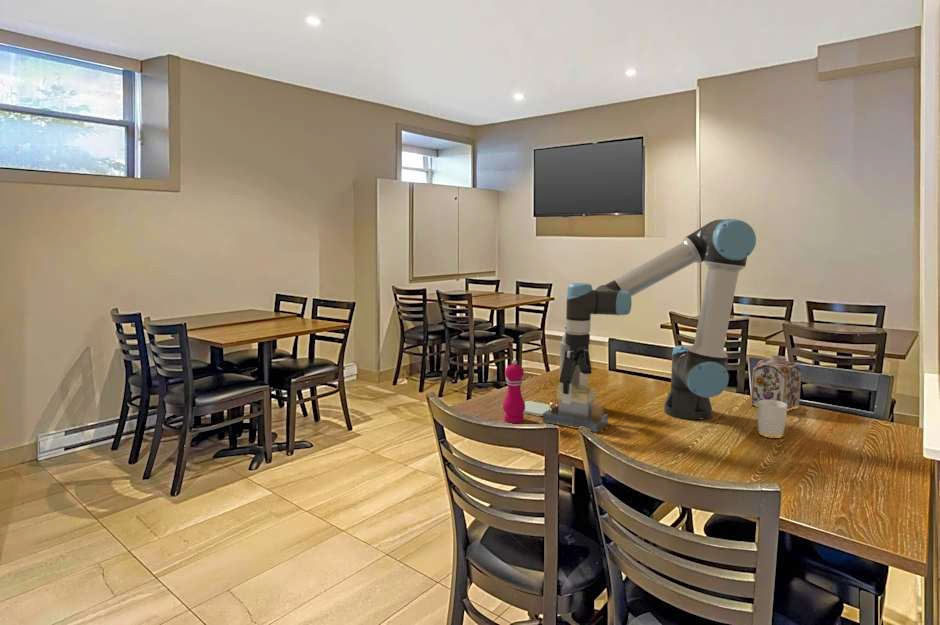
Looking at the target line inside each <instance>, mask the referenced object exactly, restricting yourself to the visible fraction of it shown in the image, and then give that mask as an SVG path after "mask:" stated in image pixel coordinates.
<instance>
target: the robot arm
mask: <svg viewBox="0 0 940 625" xmlns="http://www.w3.org/2000/svg"><path fill="white" fill-rule="evenodd" d="M756 245H757V235H756V232H755V230H754V229H753V227H752V226H751V225H750V224H749V223H747V222H746V221H744V220H740V219H737V218H727V219H715V220H712V221H710V222H709V223H706V224H705V225H703V226H702V227H699V228H698V229H697V230H695V231H693V232H692V233H689V235H686V236H685V237H684V238H683V241H682V242H680V243H678V244H677V245H674V247H671V248H670V249H667V250H666V251H664V252H662V253H661V254H659V255H656V256H655V257H653V258H651V259H650V260H648V261H646V262H644V263H642V264H641V265H639V266H637V267H635V268H634V269H632V270H630V271H628V272H626V273H625V274H623V275H621V276H619V277H617V278H615V279H614V280H612V281H610V282H608V283H606V284H602V285H599V286H597V287H596V288H595V289H593V285H592V284H591V283H584V282H573V283H570V284H568V286H567V292H566V293H567V294H566V309H565V310H566V315H565V316H566V317H565V319H566V321H564V324H565V327H566V331H567V333H566V336H565V343H566V345H569V346H570V350H569V351H565V357H564V362H563V367H562V371H561V376H560V380H559V379H558V380H559V381H560V383H563V389H562V403H565V404H571V394H572V383H571V380H572V377H573V373H574V370H575V367H576V365H579V368H580V370H581V373H580V378H579V385H583V386H589V375H591V374H592V364H591V358H590V351H589V349H590V348H589V347H590V341H591V340H590V338H591V334H590V332H591V321H592V320H591V319H592V318H591V317H592V315H607V316H608V315H613V316H626V315H629V314H630V313H631V311H632V302H633V301H632V297H634V296H635V295H637V294H638V293H640V292H642V291H644V290H645V289H648V288H649V287H652V286H653V285H655V284H657V283H659V282H660V281H662V280H664V279H666V278H669V277H671V276H672V275H674V274H675V273H677V272H679V271H681V270H683V269H685V268H687V267H688V266H690V265H692V264H694V263H698V264H701V263H705V265H706V266H707V273H706V279H705V282H704V283H705V284H704V290H703V294H702V298H701V299H702V300H701V306H700V310H699V316H698V322H697V326H696V331H695V335H694V336H695V338H694V343H693V344H692V345H691V344H690V345H683V344H681V345H675V346H674V347H673V349H672V354H671V373H670V374H671V377H670V390H669V392H668V395H667V397H666V400H665V401H664V404H663V405H664V409H663V410H664V413H666V414H667V415H669V416H672V417H674V418H678V419H683V418H684V420H693V419H699V420H701V419H700V418H707V417H710V416H711V415H712V416H713V406H712V404H711V400H710V398H714V397H716V396H719V395H720V394H722V393H723V392H724V391H725V390H726V388H727V387H728V385H729V380H730V376H729V371H728V370H727V368H726V366H727V364H728V363H727V362H728V354H727V353H726V351H725V350H724V349H725V345H726V338H727V334H728V328H729V324H730V318H731V315H732V314H731V313H732V308H733V304H734V298H735V294H736V293H735V291H736V288H737V282H738V276H739V273H740V271H743V269H745V268H746V265H747V260H748V257H749V256H750V255H751V254H752V252H753V251H754V249H755V247H756ZM559 381H558V382H559ZM712 416H711V417H712ZM711 417H710V418H711ZM707 419H708V418H707Z"/></svg>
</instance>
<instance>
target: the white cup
mask: <svg viewBox="0 0 940 625" xmlns="http://www.w3.org/2000/svg"><path fill="white" fill-rule="evenodd" d="M787 408H788V405H787V404H786V403H784V402H780V401H776V400H760V401H758V407H757V425H758V426H757V432H758V431H759V432H760V433H763V434H767V435H775V436H776V435H782V434H783V435H784V432H785V428H786V427H785V426H786V421H787V414H788V412H787Z"/></svg>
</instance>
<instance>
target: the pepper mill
mask: <svg viewBox="0 0 940 625" xmlns="http://www.w3.org/2000/svg"><path fill="white" fill-rule="evenodd" d="M524 373H525V371H524V368H523V367H522V365H519V364H518V361H517V360H516V359H513V360H512V361H511V364H509V365H508V366H506V367H505V370H504V376H505V377H506V378H507V379H506V384H507V392H506V395H505V398H504V401H503V404H502V409H503V411H504V412H505V413H504V414H503V415H504V417H503V419H504V421H505V422H506V423H510V422H512V423H513V424H517V423H518V424H519V423H522V422H524V419H525V418H524V416H525V414H523V412H524V410H525V403H524V402H525V400H524V398H523V395H522V391H521V390H522V389H521V387H522V384H523V377H524V375H525V374H524ZM512 423H511V424H512Z"/></svg>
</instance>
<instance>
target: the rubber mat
mask: <svg viewBox="0 0 940 625" xmlns="http://www.w3.org/2000/svg"><path fill="white" fill-rule="evenodd" d="M524 403H525V410H524V412H523V413H524V414H523V413H522V414H523V415H528V414H531V415H530V416H534V415H538V416H537V417H539V416H543V413H544V412H546V411H548V410H549V409H550V403H549V404H548V403H543V402H536V401H532V400H531V401H530V400H526V401H524Z"/></svg>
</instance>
